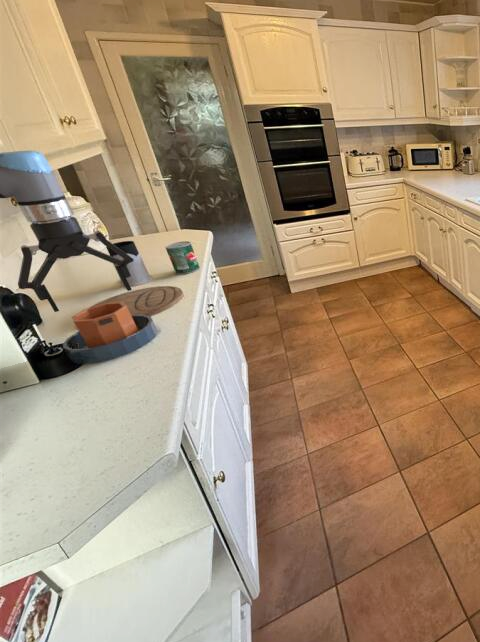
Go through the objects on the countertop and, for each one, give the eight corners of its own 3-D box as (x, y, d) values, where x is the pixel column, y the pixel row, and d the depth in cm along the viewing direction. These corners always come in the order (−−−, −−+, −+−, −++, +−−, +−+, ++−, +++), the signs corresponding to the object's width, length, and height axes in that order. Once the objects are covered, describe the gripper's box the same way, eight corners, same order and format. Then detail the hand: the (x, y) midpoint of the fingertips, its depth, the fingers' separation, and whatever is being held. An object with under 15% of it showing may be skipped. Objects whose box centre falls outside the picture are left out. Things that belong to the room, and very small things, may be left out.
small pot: (147, 345, 107) (130, 310, 102) (97, 364, 100) (77, 327, 95) (135, 330, 114) (119, 297, 110) (87, 347, 107) (68, 311, 103)
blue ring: (54, 373, 98) (43, 354, 96) (103, 335, 113) (95, 319, 111) (135, 362, 101) (126, 344, 99) (172, 327, 117) (165, 311, 114)
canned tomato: (173, 271, 156) (162, 245, 152) (197, 265, 162) (187, 239, 157) (178, 276, 152) (167, 249, 147) (202, 269, 157) (193, 243, 153)
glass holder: (118, 288, 142) (100, 250, 136) (129, 275, 154) (112, 239, 148) (149, 283, 146) (132, 245, 140) (157, 270, 158) (142, 234, 151)
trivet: (77, 338, 112) (73, 332, 112) (88, 306, 130) (85, 301, 129) (185, 309, 127) (183, 304, 126) (182, 284, 145) (181, 279, 144)
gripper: (-33, 237, 81) (23, 324, 90) (125, 209, 99) (159, 285, 108) (-33, 230, 86) (20, 315, 94) (118, 205, 104) (151, 278, 112)
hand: (94, 299), depth 101 cm, fingers open, 13 cm apart
